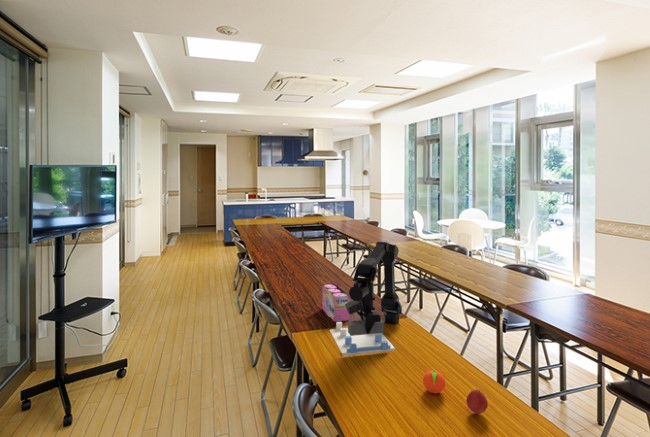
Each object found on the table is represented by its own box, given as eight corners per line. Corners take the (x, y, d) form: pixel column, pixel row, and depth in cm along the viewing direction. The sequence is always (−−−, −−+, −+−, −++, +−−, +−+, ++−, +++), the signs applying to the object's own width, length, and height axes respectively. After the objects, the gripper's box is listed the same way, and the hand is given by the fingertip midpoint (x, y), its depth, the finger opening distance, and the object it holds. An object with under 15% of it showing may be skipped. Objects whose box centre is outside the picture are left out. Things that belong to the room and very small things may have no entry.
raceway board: (375, 327, 179) (375, 319, 178) (395, 351, 154) (395, 341, 154) (329, 331, 174) (329, 322, 174) (342, 356, 150) (342, 346, 149)
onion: (463, 414, 113) (464, 389, 112) (469, 405, 117) (470, 381, 117) (483, 422, 109) (485, 396, 108) (489, 412, 114) (490, 387, 113)
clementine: (445, 401, 120) (446, 379, 119) (422, 397, 122) (423, 376, 121) (444, 387, 128) (445, 367, 127) (423, 384, 129) (423, 364, 129)
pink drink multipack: (321, 308, 206) (321, 283, 205) (335, 306, 208) (335, 282, 207) (334, 324, 183) (334, 296, 182) (349, 322, 185) (350, 295, 184)
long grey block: (380, 329, 159) (380, 318, 159) (383, 332, 155) (384, 322, 155) (348, 331, 156) (348, 321, 156) (350, 335, 152) (350, 324, 152)
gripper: (341, 288, 162) (341, 324, 163) (353, 302, 143) (353, 342, 145) (366, 286, 164) (366, 322, 165) (381, 300, 146) (381, 340, 147)
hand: (366, 331), depth 156 cm, fingers closed on long grey block, 4 cm apart
